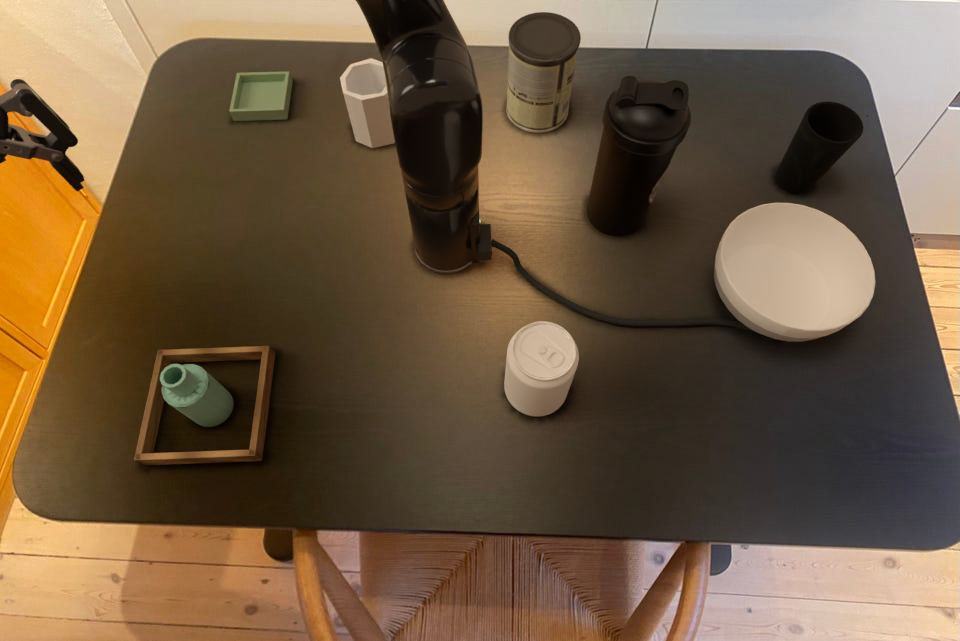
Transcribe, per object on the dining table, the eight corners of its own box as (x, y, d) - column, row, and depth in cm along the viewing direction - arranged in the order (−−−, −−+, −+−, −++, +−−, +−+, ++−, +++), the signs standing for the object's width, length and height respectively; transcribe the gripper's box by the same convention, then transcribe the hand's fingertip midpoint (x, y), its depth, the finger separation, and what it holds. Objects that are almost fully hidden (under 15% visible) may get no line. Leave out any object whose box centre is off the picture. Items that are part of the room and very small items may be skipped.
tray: (292, 81, 102) (289, 71, 100) (287, 119, 98) (283, 109, 96) (241, 82, 102) (236, 72, 100) (233, 121, 98) (228, 111, 96)
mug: (347, 146, 96) (334, 98, 87) (357, 106, 99) (345, 56, 91) (423, 151, 95) (417, 103, 86) (429, 111, 99) (424, 61, 90)
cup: (829, 191, 91) (875, 133, 80) (786, 206, 90) (828, 150, 79) (799, 154, 94) (840, 94, 84) (757, 168, 93) (793, 109, 82)
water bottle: (647, 246, 87) (698, 129, 66) (576, 234, 88) (605, 116, 67) (652, 191, 91) (702, 65, 71) (585, 180, 92) (614, 53, 72)
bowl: (842, 258, 86) (878, 222, 78) (834, 377, 78) (874, 349, 70) (708, 225, 88) (730, 187, 81) (688, 336, 80) (710, 306, 73)
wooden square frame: (275, 353, 80) (269, 345, 77) (262, 461, 73) (255, 455, 71) (167, 357, 79) (157, 349, 77) (144, 465, 73) (133, 460, 71)
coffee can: (506, 86, 101) (509, 10, 89) (567, 88, 101) (579, 12, 88) (504, 133, 97) (507, 59, 84) (569, 134, 96) (582, 61, 84)
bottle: (236, 387, 78) (200, 352, 68) (230, 426, 75) (192, 396, 65) (195, 388, 77) (153, 354, 68) (188, 427, 75) (144, 398, 65)
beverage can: (529, 347, 80) (536, 304, 69) (579, 383, 78) (595, 345, 67) (491, 391, 77) (492, 354, 66) (541, 431, 75) (551, 398, 64)
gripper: (-225, 143, 39) (-27, 277, 54) (-11, 41, 43) (121, 191, 57) (-245, 85, 42) (-53, 226, 56) (-43, -6, 46) (90, 148, 60)
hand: (35, 208), depth 57 cm, fingers open, 8 cm apart
